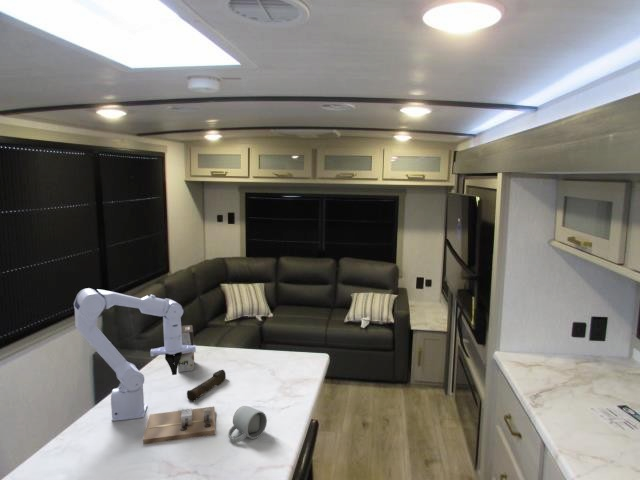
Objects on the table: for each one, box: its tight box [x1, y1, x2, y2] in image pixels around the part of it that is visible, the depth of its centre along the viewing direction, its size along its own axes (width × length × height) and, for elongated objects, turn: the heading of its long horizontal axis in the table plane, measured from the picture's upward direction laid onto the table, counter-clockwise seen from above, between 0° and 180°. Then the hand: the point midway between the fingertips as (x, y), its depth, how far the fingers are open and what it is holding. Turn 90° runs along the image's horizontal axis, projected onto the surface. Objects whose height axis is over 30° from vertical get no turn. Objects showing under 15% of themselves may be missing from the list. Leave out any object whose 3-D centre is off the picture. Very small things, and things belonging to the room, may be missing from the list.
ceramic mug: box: [227, 405, 268, 443], centre depth 128 cm, size 11×8×8 cm
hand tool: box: [186, 369, 227, 402], centre depth 156 cm, size 19×4×5 cm, turn 152°
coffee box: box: [177, 324, 195, 373], centre depth 174 cm, size 9×6×16 cm
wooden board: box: [142, 406, 216, 446], centre depth 132 cm, size 20×14×5 cm
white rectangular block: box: [181, 408, 193, 426], centre depth 131 cm, size 3×5×3 cm, turn 14°
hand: (174, 373), depth 148 cm, fingers closed
